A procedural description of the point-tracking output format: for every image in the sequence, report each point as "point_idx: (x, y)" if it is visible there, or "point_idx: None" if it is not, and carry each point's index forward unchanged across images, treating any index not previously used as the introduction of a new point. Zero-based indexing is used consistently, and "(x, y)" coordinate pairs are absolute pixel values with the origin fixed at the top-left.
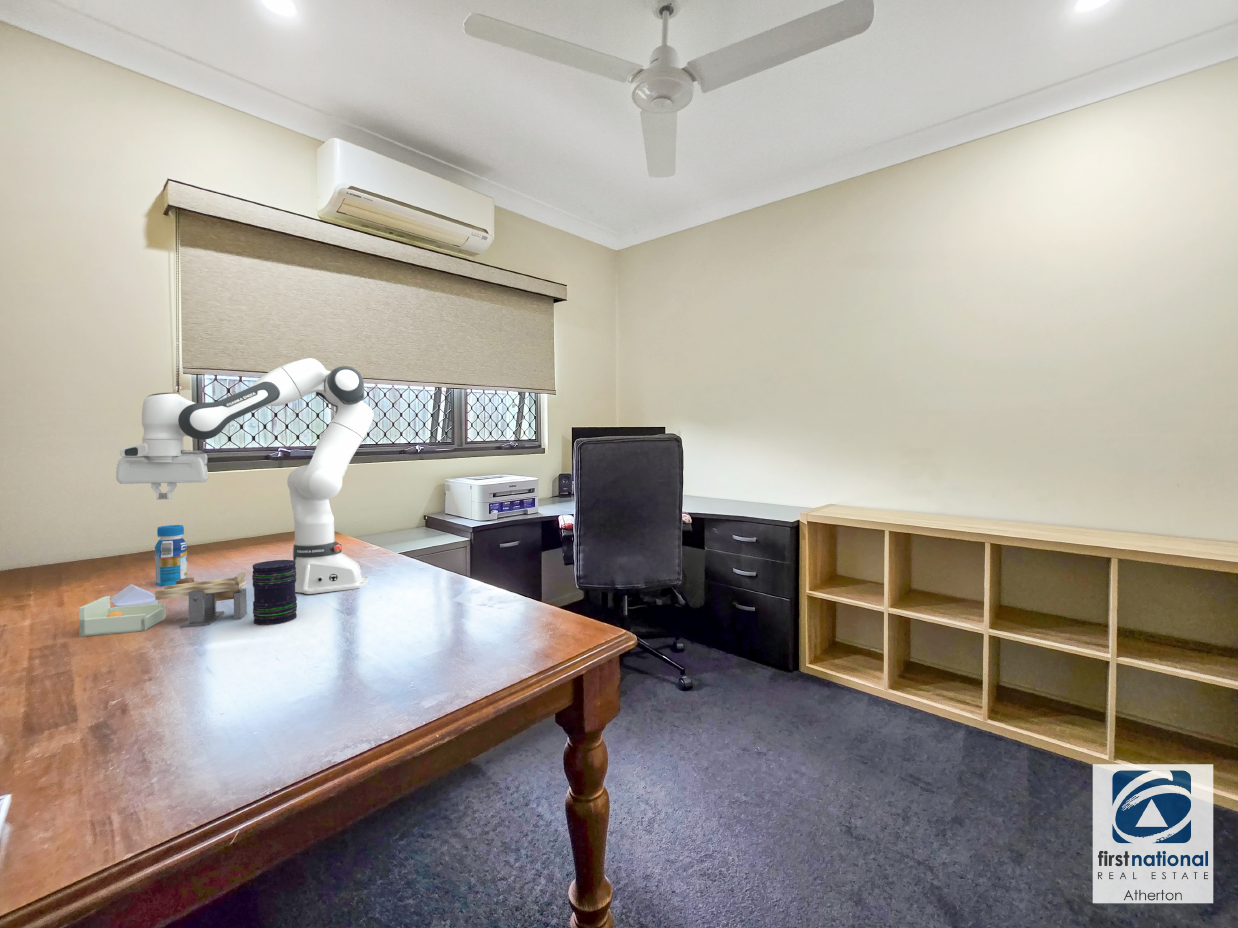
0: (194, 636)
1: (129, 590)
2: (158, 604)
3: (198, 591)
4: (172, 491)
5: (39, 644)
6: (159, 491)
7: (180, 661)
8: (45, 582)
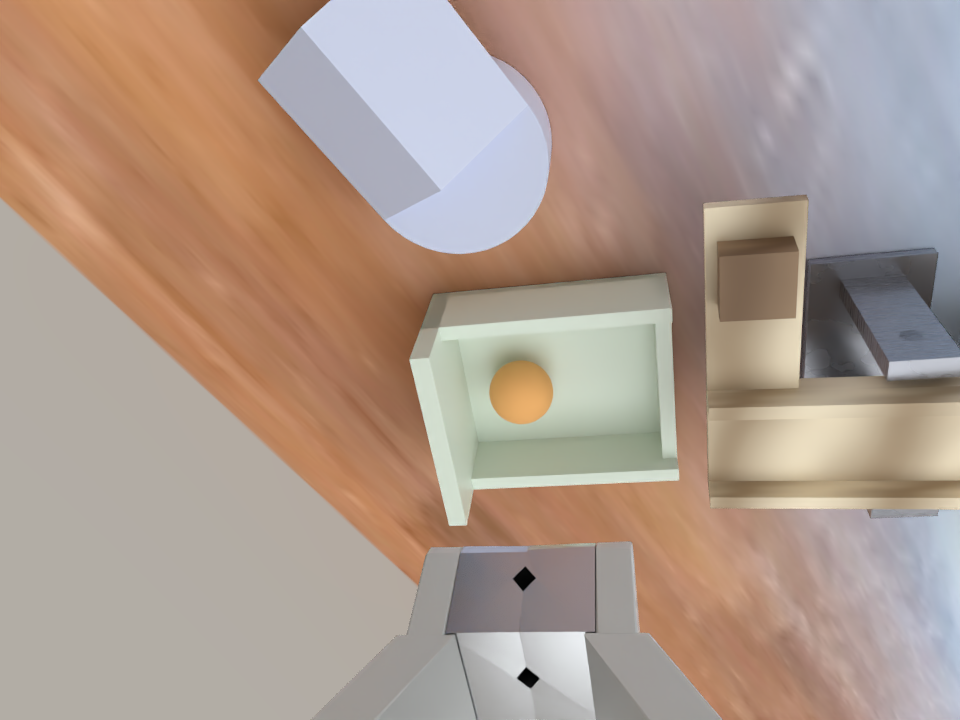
0: (894, 539)
1: (380, 145)
2: (646, 322)
3: (917, 514)
4: (665, 671)
5: (392, 492)
6: (444, 711)
7: (923, 714)
8: None
